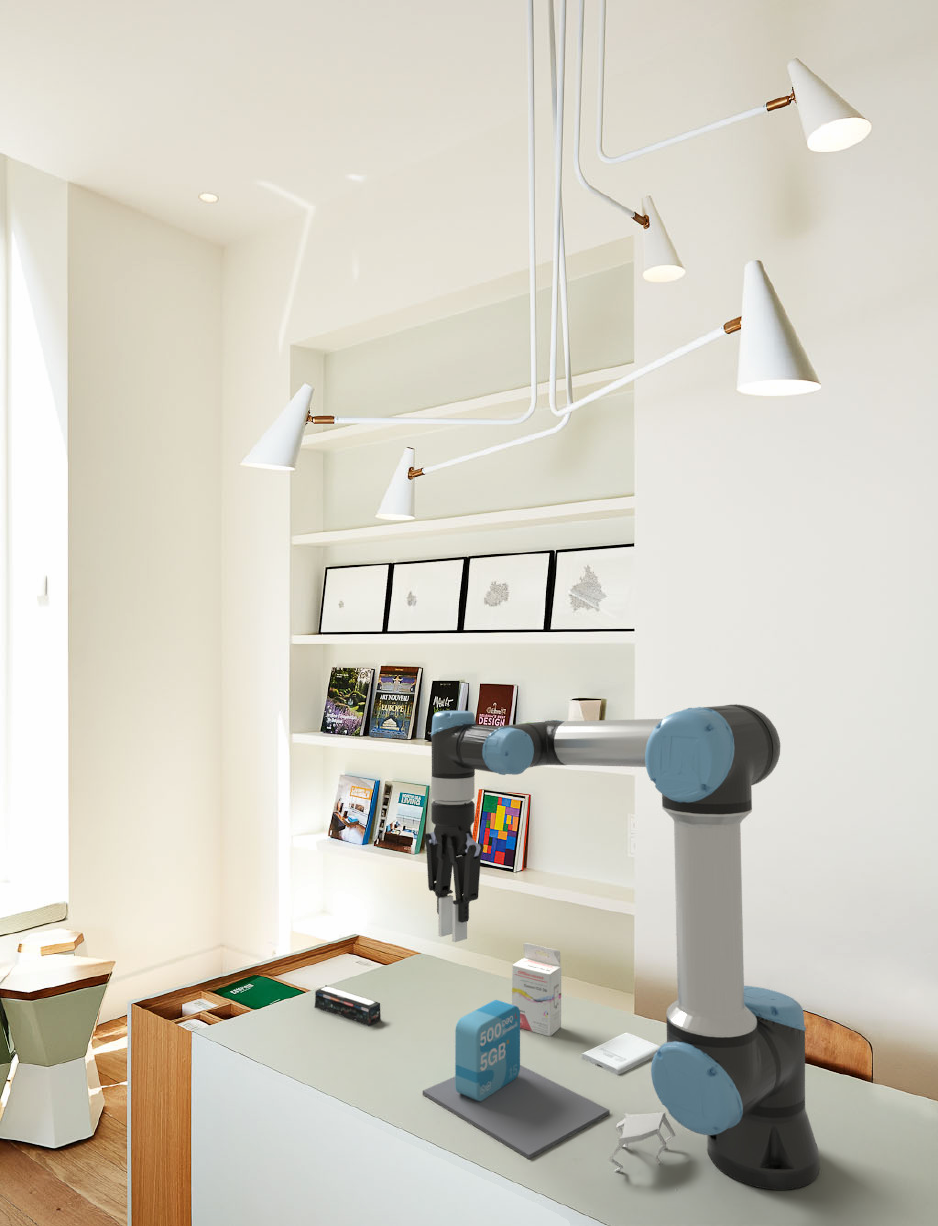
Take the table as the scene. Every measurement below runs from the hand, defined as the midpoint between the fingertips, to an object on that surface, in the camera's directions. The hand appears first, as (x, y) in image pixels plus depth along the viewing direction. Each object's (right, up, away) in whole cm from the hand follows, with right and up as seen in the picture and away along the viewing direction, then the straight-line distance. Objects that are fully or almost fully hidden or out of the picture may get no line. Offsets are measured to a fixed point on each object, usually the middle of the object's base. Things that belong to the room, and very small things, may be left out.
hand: (452, 936), depth 152 cm
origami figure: (+27, -22, -27) cm, 44 cm away
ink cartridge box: (+16, -23, +16) cm, 32 cm away
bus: (-20, -24, +20) cm, 37 cm away
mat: (+10, -22, -12) cm, 27 cm away
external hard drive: (+30, -24, +5) cm, 38 cm away
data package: (+6, -22, -7) cm, 24 cm away
